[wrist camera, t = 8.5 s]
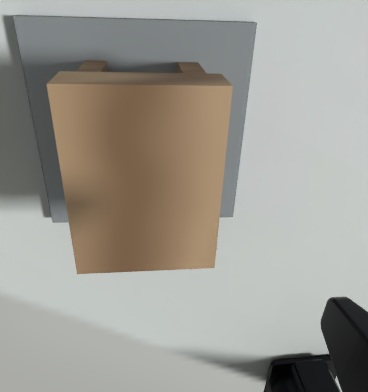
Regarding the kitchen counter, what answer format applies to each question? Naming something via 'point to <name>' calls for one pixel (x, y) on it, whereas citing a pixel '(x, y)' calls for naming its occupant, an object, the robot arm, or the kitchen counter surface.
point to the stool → (141, 165)
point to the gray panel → (132, 62)
